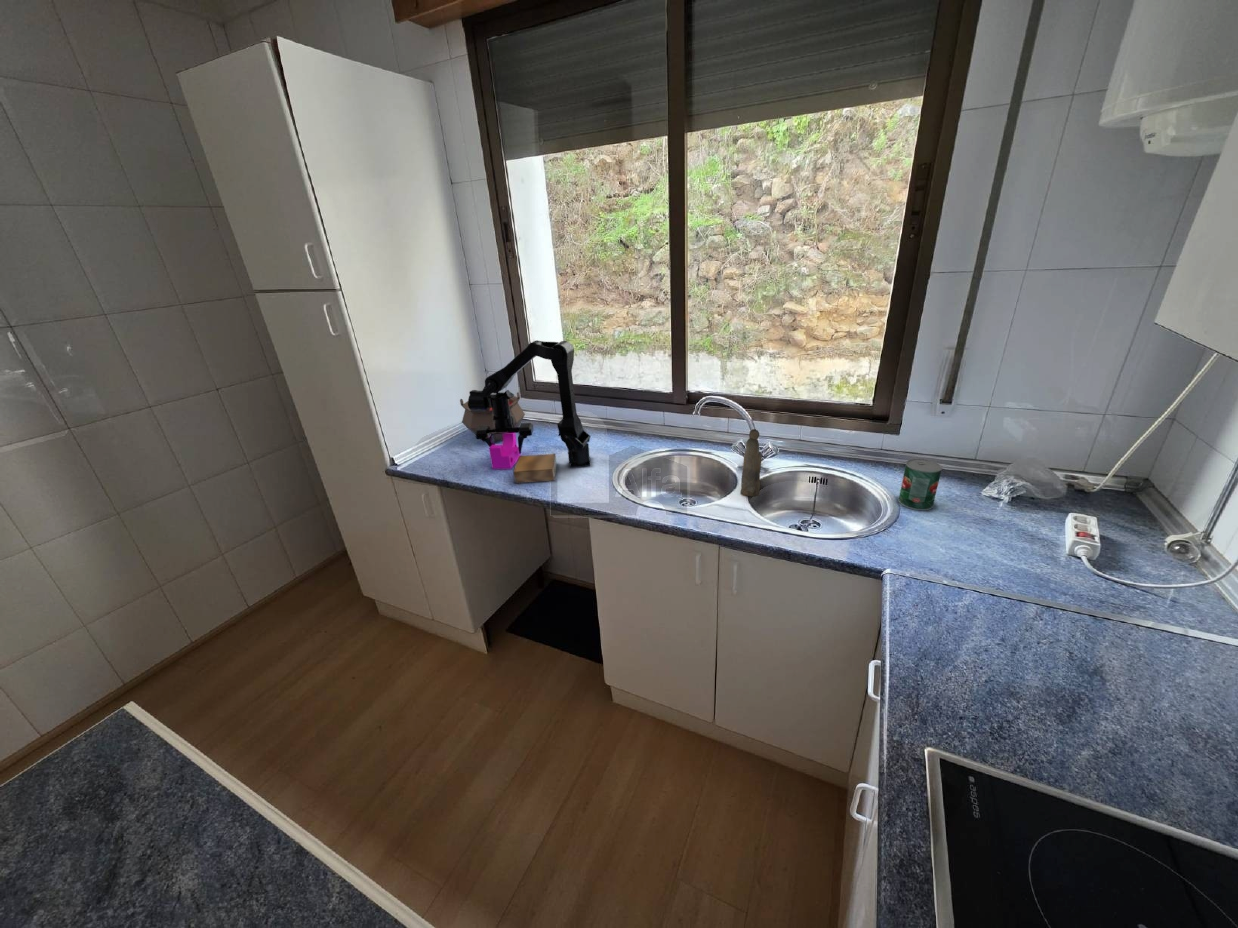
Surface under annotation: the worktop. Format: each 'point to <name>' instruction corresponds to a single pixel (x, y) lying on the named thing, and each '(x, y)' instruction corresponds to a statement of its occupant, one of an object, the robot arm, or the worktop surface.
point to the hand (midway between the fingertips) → (508, 454)
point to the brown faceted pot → (490, 417)
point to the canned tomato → (919, 484)
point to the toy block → (505, 452)
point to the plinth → (535, 468)
